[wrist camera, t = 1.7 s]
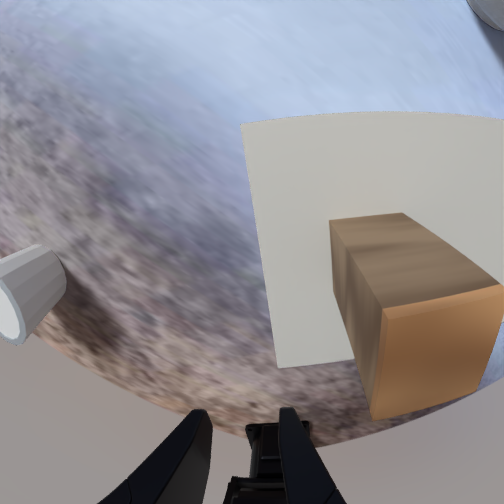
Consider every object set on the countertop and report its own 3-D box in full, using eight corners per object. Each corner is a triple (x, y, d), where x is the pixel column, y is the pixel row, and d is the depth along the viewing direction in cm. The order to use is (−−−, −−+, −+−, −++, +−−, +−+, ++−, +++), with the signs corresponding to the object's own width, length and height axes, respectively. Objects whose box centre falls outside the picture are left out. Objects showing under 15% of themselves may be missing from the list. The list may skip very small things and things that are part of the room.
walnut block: (400, 281, 19) (475, 391, 9) (332, 291, 20) (372, 421, 9) (401, 212, 17) (509, 291, 7) (328, 220, 18) (388, 319, 8)
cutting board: (510, 312, 20) (515, 317, 20) (277, 360, 23) (277, 368, 23) (527, 124, 14) (534, 125, 13) (241, 125, 17) (240, 124, 16)
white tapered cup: (82, 304, 23) (38, 349, 17) (37, 306, 24) (-4, 343, 18) (56, 231, 21) (0, 263, 14) (13, 243, 22) (-36, 272, 15)
